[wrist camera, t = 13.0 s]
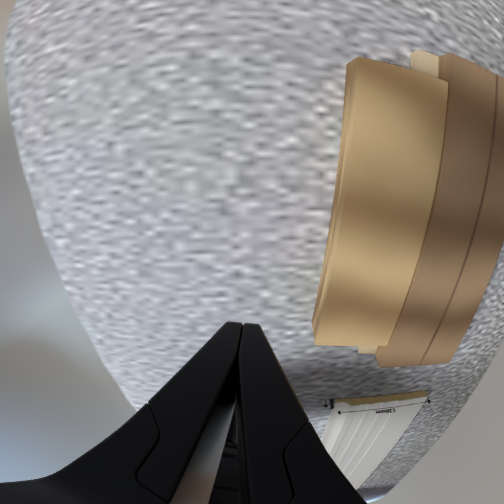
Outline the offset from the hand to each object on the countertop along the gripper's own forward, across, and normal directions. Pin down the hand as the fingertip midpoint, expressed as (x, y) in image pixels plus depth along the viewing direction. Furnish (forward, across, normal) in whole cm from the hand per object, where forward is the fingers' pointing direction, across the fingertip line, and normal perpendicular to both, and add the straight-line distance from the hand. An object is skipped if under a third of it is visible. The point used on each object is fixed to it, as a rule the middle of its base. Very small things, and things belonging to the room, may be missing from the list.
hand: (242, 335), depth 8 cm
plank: (+12, -7, 0) cm, 14 cm away
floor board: (+12, -14, 0) cm, 18 cm away
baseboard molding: (+13, -14, +34) cm, 39 cm away
